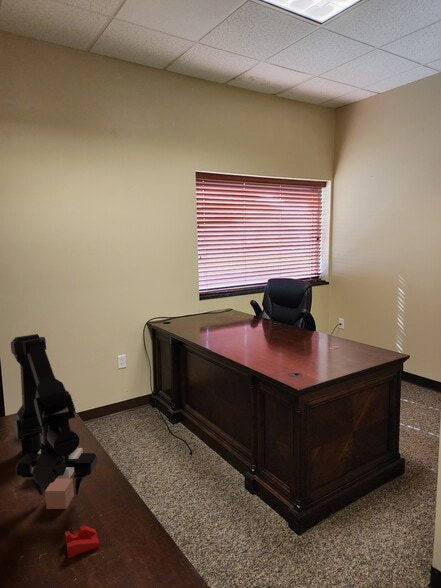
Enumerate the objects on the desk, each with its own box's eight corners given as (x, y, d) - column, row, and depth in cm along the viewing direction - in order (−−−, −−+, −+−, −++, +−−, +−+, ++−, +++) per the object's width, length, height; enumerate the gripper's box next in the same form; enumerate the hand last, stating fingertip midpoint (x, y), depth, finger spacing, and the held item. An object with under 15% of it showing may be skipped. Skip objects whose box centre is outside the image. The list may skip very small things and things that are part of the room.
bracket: (68, 559, 83) (67, 547, 82) (66, 544, 87) (65, 532, 87) (99, 548, 86) (98, 536, 85) (95, 533, 90) (94, 522, 90)
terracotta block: (55, 495, 103) (53, 478, 102) (73, 495, 103) (72, 478, 102) (46, 509, 98) (44, 491, 97) (66, 509, 98) (64, 490, 97)
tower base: (47, 457, 121) (46, 439, 120) (83, 456, 121) (81, 438, 120) (30, 479, 110) (28, 459, 109) (69, 479, 110) (67, 459, 109)
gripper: (0, 456, 90) (6, 517, 92) (80, 455, 90) (85, 516, 92) (24, 431, 101) (29, 486, 103) (96, 431, 101) (99, 486, 103)
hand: (59, 494), depth 100 cm, fingers open, 9 cm apart
